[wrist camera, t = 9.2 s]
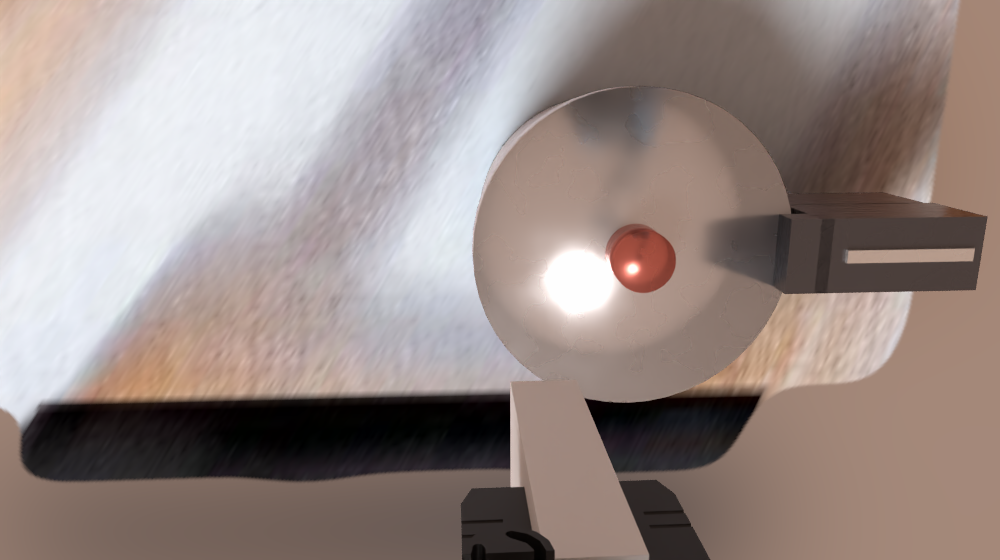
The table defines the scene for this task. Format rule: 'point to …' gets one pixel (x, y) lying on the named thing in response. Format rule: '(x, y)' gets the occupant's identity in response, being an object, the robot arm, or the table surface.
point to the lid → (675, 243)
